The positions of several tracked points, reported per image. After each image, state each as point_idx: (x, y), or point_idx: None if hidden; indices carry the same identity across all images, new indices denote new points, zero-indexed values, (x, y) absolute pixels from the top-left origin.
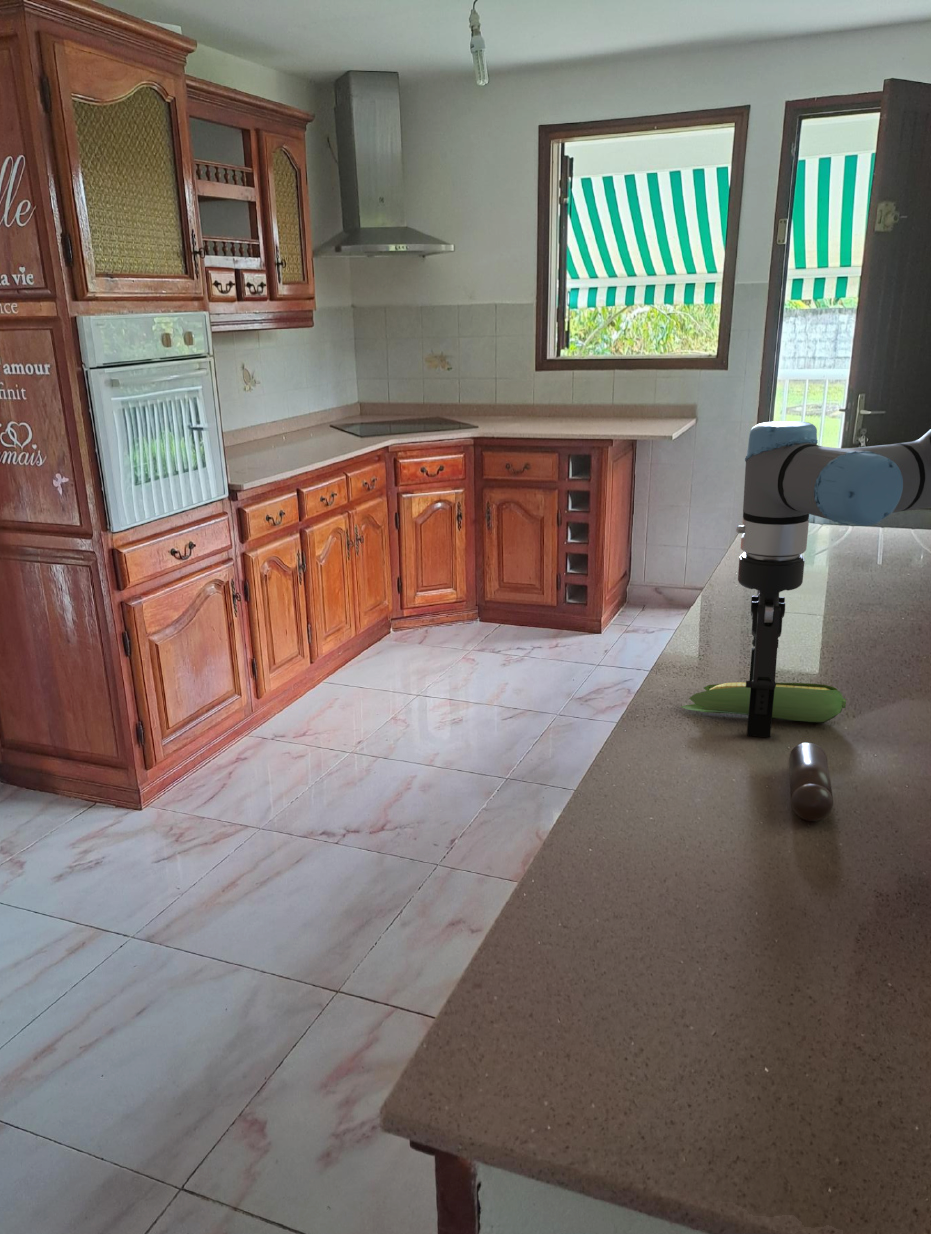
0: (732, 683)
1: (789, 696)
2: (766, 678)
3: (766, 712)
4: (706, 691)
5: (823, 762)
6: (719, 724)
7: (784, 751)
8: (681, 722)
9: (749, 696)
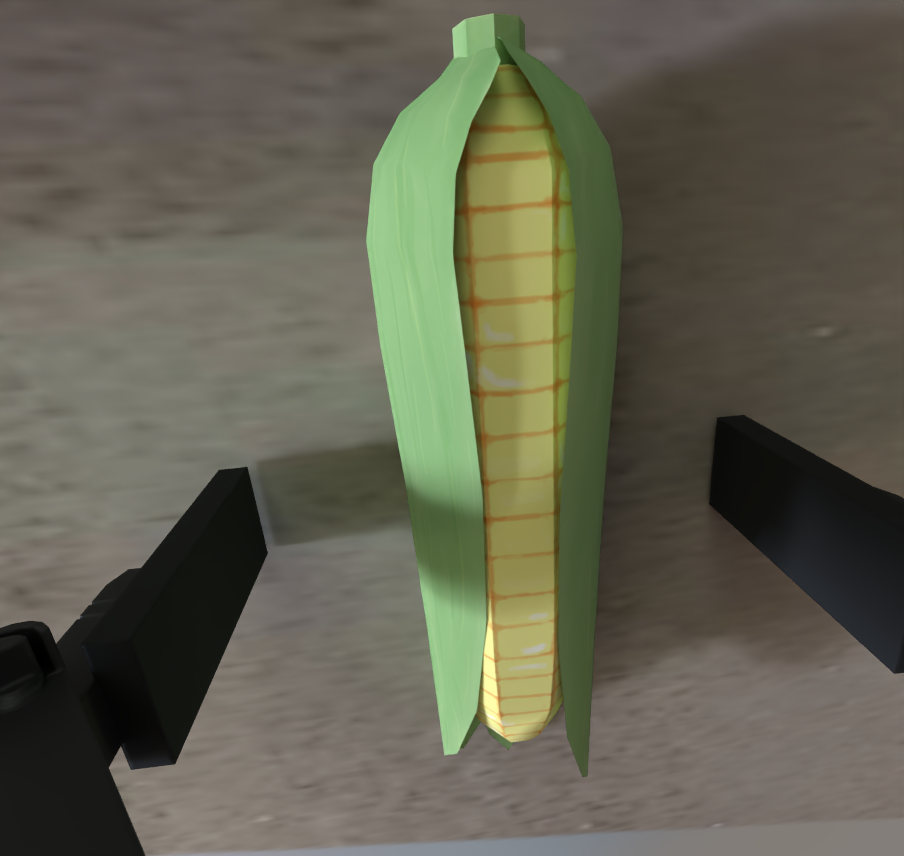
0: (512, 694)
1: (602, 401)
2: (219, 536)
3: (887, 494)
4: (575, 753)
5: None
6: (616, 602)
7: (867, 345)
8: (621, 711)
9: (593, 586)
